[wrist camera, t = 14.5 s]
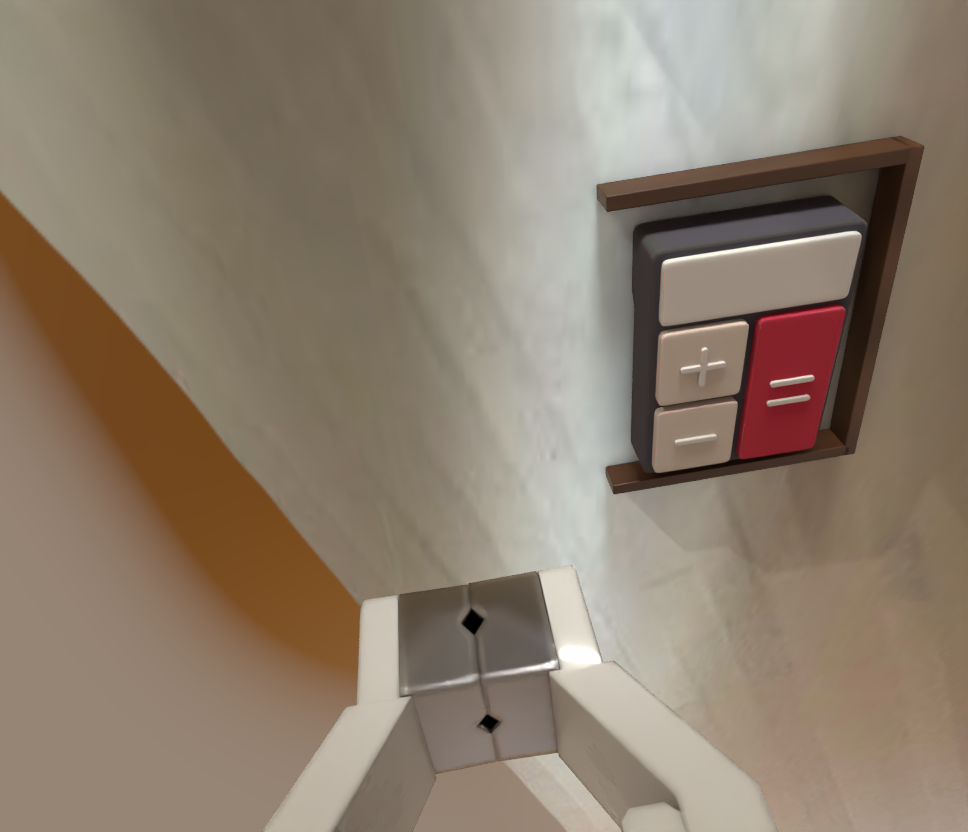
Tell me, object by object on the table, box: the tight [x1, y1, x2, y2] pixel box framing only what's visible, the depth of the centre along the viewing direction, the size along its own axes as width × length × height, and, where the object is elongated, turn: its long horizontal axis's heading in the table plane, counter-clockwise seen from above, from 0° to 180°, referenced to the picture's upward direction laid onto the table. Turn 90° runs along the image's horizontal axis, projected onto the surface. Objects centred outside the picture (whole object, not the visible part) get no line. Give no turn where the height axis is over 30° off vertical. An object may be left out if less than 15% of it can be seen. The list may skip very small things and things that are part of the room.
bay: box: [597, 136, 924, 494], centre depth 42 cm, size 20×16×2 cm
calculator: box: [631, 196, 868, 473], centre depth 41 cm, size 11×4×15 cm
